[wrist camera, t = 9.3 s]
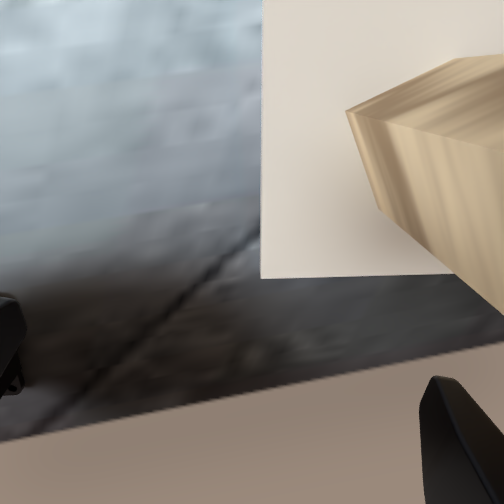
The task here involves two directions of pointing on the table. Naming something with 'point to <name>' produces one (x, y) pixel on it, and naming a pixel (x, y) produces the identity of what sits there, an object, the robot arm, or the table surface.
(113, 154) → the table surface
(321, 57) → the plate
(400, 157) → the beech block
